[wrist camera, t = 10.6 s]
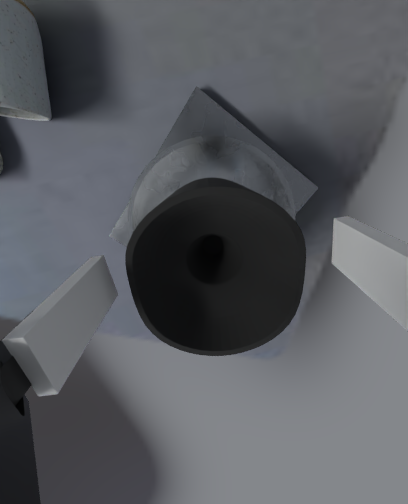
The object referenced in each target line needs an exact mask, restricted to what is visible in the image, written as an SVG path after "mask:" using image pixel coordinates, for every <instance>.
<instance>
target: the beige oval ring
mask: <svg viewBox="0 0 408 504" xmlns="http://www.w3.org/2000/svg"><path fill="white" fill-rule="evenodd" d="M2 165H3V160H2V156H1V152H0V174H1V170H2V169H3V166H2Z"/></svg>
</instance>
